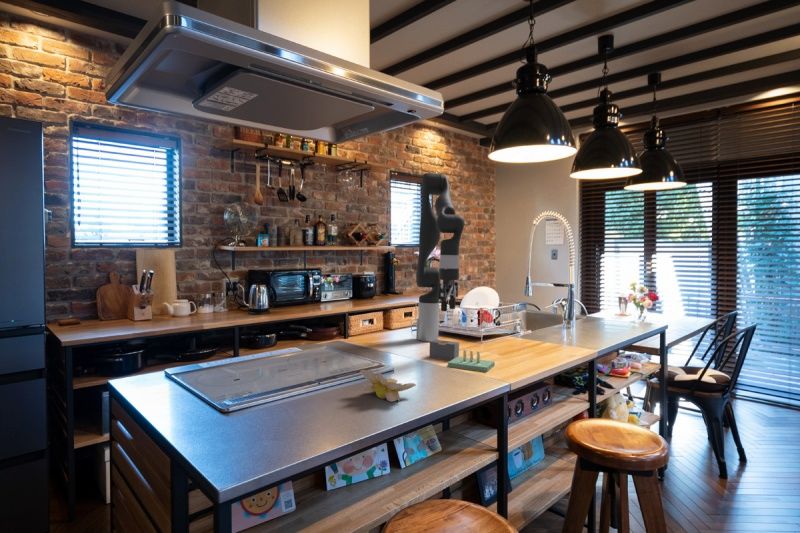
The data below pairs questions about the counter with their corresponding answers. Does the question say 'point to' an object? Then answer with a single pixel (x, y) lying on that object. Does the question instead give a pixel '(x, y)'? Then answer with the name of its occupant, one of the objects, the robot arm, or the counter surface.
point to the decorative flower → (384, 385)
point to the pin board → (471, 363)
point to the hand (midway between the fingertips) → (448, 310)
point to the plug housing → (444, 349)
